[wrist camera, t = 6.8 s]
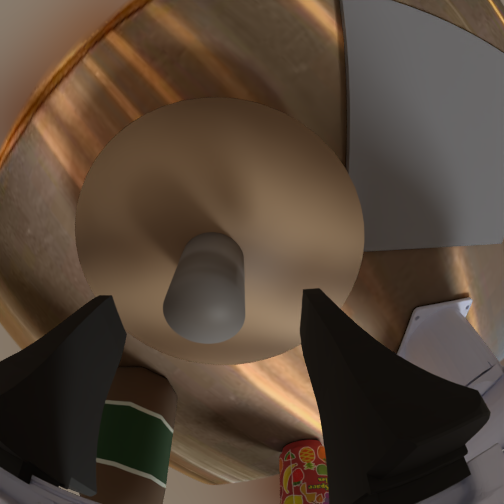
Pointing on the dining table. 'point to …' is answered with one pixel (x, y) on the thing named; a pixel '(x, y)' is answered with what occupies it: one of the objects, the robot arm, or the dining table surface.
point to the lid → (218, 228)
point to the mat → (423, 128)
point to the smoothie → (303, 473)
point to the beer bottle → (135, 438)
